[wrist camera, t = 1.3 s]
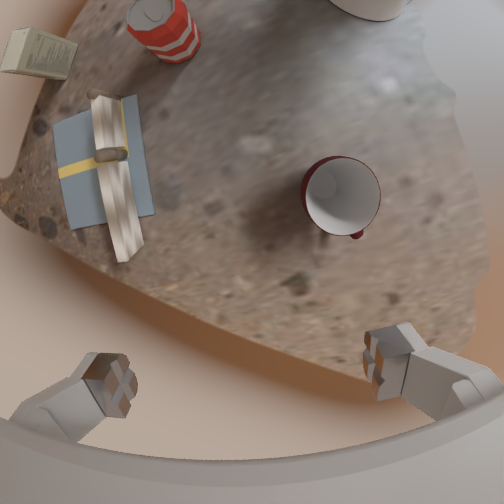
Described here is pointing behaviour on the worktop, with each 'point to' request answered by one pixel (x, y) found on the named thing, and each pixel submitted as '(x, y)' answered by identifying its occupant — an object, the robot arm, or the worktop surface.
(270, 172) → the worktop surface
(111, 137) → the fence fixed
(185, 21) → the beverage can
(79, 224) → the card
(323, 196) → the mug
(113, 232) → the fence panel
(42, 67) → the skincare box
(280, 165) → the worktop surface
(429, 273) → the worktop surface
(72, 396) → the robot arm
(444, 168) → the worktop surface
